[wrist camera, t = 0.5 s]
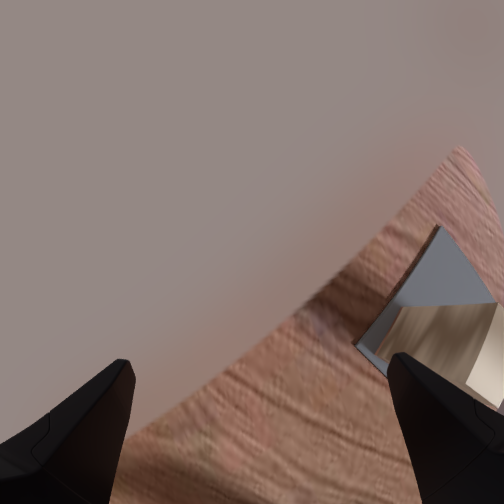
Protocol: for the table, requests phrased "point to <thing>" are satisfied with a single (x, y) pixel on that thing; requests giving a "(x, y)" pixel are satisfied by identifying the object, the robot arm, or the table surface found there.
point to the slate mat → (428, 290)
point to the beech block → (454, 345)
